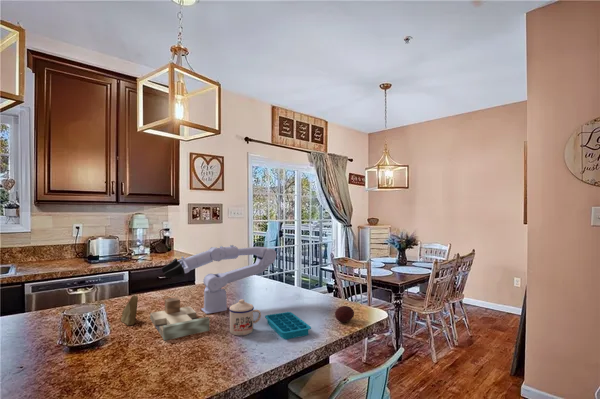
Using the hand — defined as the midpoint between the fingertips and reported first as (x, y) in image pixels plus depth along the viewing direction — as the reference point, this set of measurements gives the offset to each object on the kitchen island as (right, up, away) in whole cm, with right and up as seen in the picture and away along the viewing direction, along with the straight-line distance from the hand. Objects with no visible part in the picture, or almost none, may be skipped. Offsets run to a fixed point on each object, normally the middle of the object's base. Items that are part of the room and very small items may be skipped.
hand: (163, 273), depth 134 cm
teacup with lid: (+37, -19, -14) cm, 44 cm away
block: (+3, -16, +1) cm, 17 cm away
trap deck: (+9, -19, -8) cm, 22 cm away
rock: (-13, -19, -4) cm, 23 cm away
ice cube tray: (+52, -19, -12) cm, 57 cm away
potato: (+75, -19, -4) cm, 78 cm away
